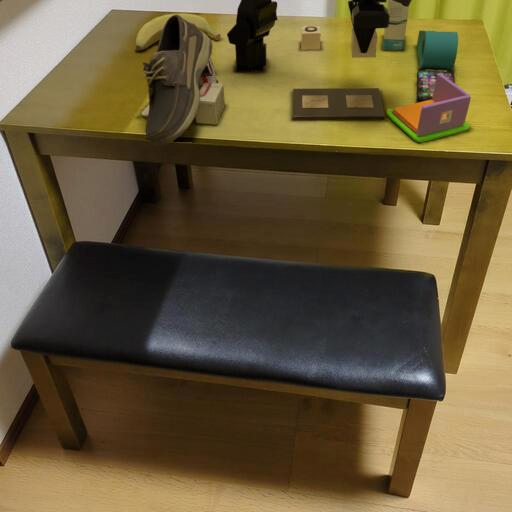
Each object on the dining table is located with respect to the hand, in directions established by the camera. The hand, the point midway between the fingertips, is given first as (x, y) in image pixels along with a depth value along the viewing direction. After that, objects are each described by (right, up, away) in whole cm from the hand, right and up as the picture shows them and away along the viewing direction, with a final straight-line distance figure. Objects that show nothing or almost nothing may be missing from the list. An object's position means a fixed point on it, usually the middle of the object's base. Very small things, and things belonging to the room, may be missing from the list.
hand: (362, 47), depth 113 cm
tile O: (-7, +11, +28) cm, 31 cm away
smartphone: (+17, -5, +10) cm, 20 cm away
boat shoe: (-35, -9, +2) cm, 36 cm away
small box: (-29, -7, +6) cm, 31 cm away
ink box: (+13, +11, +28) cm, 32 cm away
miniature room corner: (+12, -15, 0) cm, 19 cm away
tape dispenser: (+20, +4, +20) cm, 29 cm away
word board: (-4, -10, +6) cm, 12 cm away
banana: (-40, +13, +33) cm, 53 cm away
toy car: (-33, -2, +16) cm, 37 cm away
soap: (-41, -10, +8) cm, 43 cm away
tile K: (0, -1, +1) cm, 1 cm away
